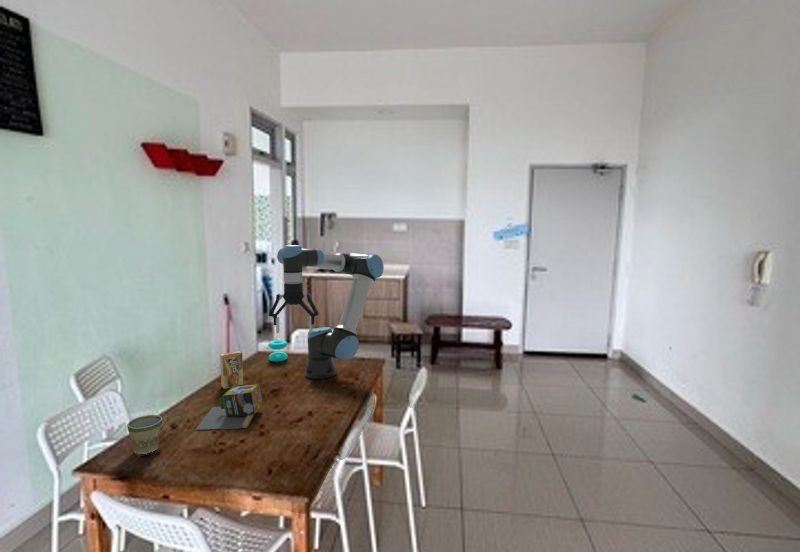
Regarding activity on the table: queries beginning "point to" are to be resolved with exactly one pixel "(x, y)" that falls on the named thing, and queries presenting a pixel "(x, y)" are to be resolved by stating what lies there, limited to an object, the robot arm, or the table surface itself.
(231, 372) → the candy box
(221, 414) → the mat
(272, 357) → the donuts
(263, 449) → the table surface
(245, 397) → the chalk box
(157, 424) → the ceramic cup
